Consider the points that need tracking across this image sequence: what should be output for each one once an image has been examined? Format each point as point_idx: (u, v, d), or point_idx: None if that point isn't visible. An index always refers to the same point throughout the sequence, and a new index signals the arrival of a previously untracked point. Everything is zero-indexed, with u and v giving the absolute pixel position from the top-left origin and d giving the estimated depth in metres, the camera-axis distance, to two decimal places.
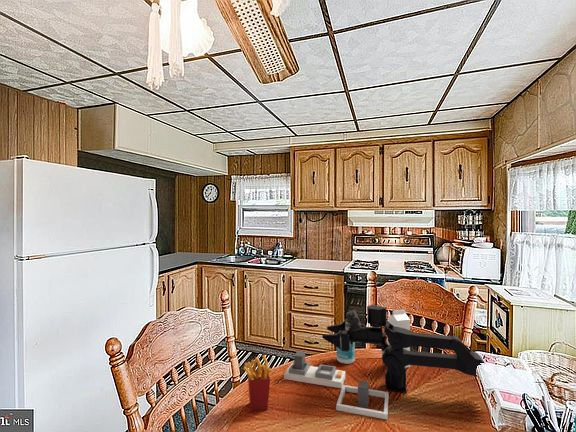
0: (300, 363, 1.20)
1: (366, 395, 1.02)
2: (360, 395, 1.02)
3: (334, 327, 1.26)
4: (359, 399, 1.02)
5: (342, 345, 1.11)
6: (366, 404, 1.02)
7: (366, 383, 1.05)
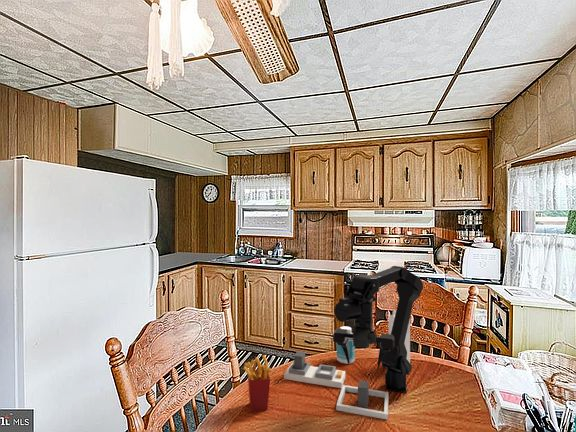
0: (300, 363, 1.20)
1: (366, 395, 1.02)
2: (359, 395, 1.02)
3: (348, 354, 1.06)
4: (359, 399, 1.02)
5: None
6: (366, 404, 1.02)
7: (366, 383, 1.05)
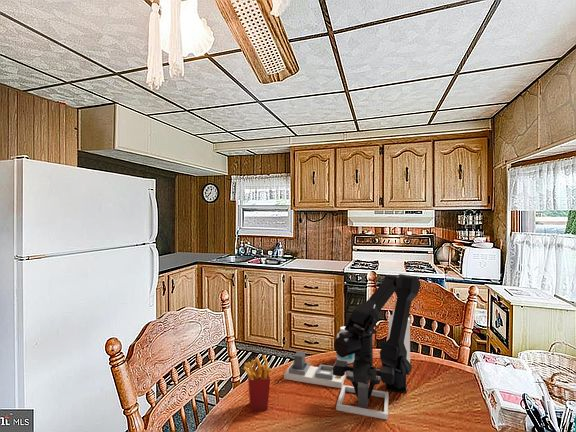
0: (300, 363, 1.20)
1: (366, 395, 1.02)
2: (359, 395, 1.02)
3: (357, 389, 1.04)
4: (359, 399, 1.02)
5: None
6: (366, 404, 1.02)
7: None
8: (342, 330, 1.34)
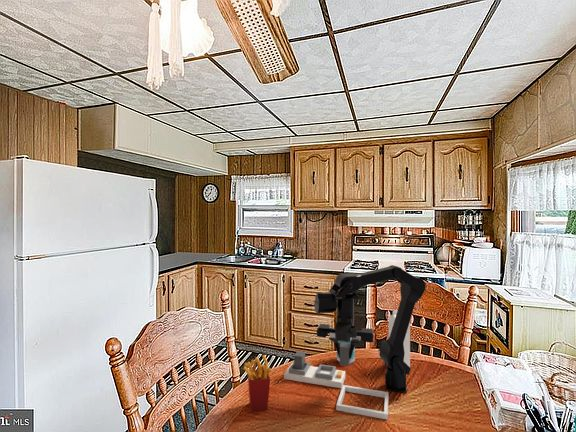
0: (300, 363, 1.20)
1: (347, 354, 1.08)
2: (341, 354, 1.09)
3: (339, 349, 1.11)
4: (341, 358, 1.09)
5: (373, 337, 1.09)
6: (347, 362, 1.08)
7: (347, 344, 1.12)
8: None
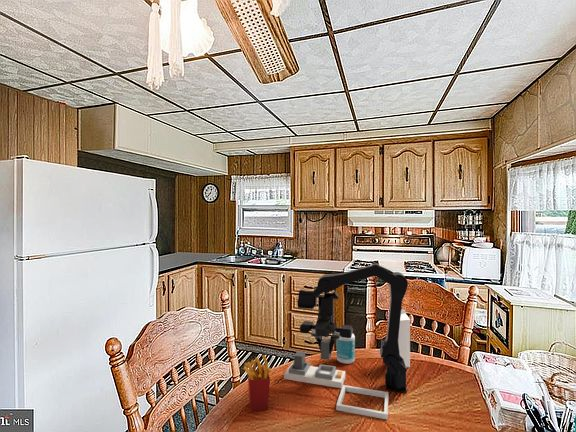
0: (300, 363, 1.20)
1: (327, 349, 1.17)
2: (322, 349, 1.18)
3: None
4: (322, 352, 1.18)
5: (352, 333, 1.18)
6: (328, 356, 1.17)
7: (328, 339, 1.20)
8: None
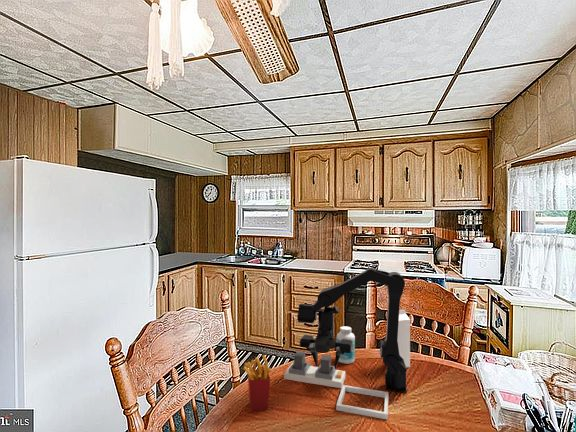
0: (300, 363, 1.20)
1: (327, 366, 1.17)
2: (322, 366, 1.18)
3: (316, 358, 1.20)
4: (321, 370, 1.18)
5: (351, 348, 1.18)
6: None
7: (328, 356, 1.20)
8: (342, 330, 1.34)
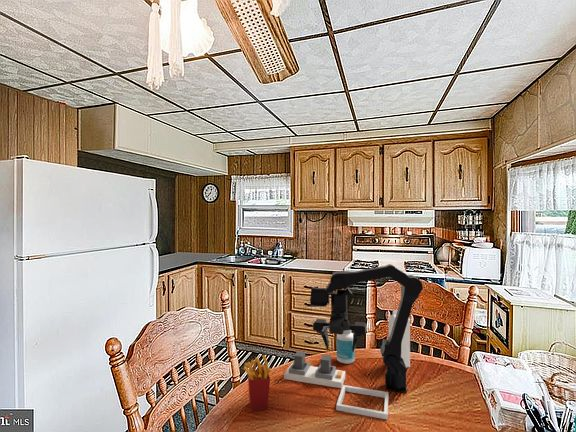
0: (300, 363, 1.20)
1: (327, 366, 1.17)
2: (322, 366, 1.18)
3: (327, 341, 1.19)
4: (321, 370, 1.18)
5: (366, 330, 1.16)
6: None
7: (328, 356, 1.20)
8: None
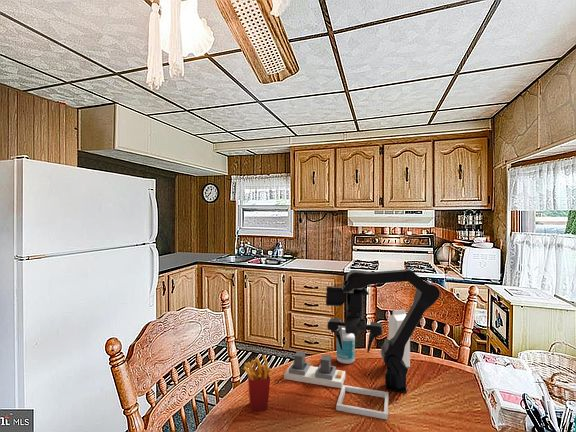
0: (300, 363, 1.20)
1: (327, 366, 1.17)
2: (322, 366, 1.18)
3: (341, 341, 1.17)
4: (321, 370, 1.18)
5: None
6: None
7: (328, 356, 1.20)
8: (342, 330, 1.34)
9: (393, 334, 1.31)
